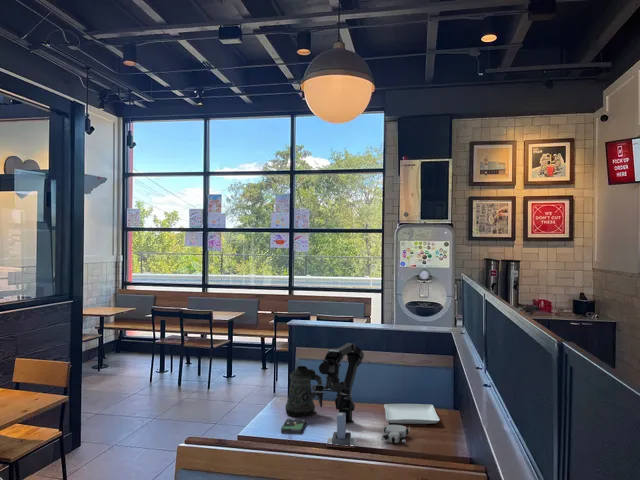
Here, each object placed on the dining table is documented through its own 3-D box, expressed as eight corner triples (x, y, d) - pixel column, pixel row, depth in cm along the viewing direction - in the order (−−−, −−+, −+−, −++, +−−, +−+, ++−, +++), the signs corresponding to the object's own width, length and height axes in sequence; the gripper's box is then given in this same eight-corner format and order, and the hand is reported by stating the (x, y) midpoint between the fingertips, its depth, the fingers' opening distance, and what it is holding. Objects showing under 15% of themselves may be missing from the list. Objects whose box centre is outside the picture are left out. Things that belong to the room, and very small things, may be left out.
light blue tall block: (338, 439, 217) (337, 410, 217) (345, 440, 216) (345, 410, 217) (337, 444, 211) (336, 414, 212) (345, 444, 211) (344, 414, 211)
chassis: (328, 439, 219) (328, 431, 220) (356, 440, 218) (356, 432, 218) (326, 447, 210) (326, 439, 210) (355, 448, 208) (355, 440, 208)
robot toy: (406, 448, 211) (410, 434, 225) (406, 438, 210) (410, 424, 225) (379, 445, 214) (384, 431, 228) (379, 435, 214) (384, 422, 228)
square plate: (432, 410, 262) (432, 403, 262) (440, 427, 235) (440, 419, 235) (384, 409, 265) (383, 402, 265) (386, 426, 237) (386, 418, 238)
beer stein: (280, 410, 263) (280, 365, 264) (311, 405, 272) (311, 362, 273) (293, 419, 249) (292, 371, 250) (325, 413, 258) (324, 367, 259)
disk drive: (286, 424, 243) (280, 434, 228) (286, 418, 243) (280, 428, 228) (306, 424, 242) (301, 434, 227) (306, 419, 242) (301, 428, 227)
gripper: (321, 374, 223) (317, 408, 219) (356, 378, 229) (353, 411, 225) (313, 372, 234) (309, 405, 230) (347, 376, 239) (344, 408, 235)
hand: (329, 407), depth 230 cm, fingers open, 9 cm apart
